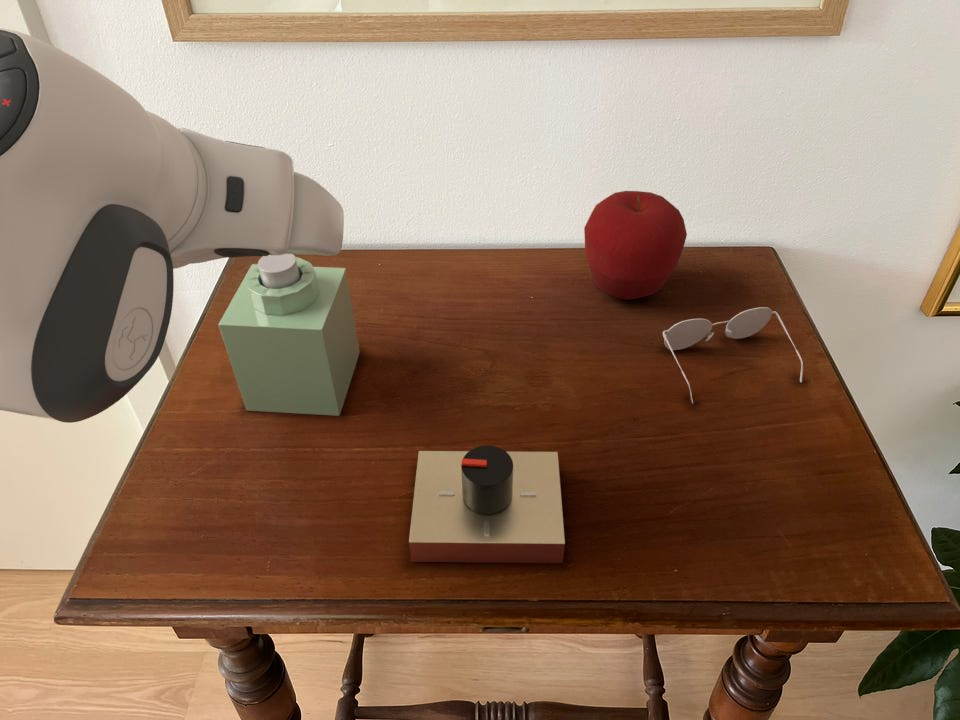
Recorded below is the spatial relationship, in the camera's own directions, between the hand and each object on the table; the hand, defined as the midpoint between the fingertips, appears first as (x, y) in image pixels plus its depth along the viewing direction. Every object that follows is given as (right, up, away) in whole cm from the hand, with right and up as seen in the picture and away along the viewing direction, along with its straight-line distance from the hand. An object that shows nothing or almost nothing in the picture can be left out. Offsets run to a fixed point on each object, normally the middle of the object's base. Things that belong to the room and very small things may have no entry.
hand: (241, 241), depth 60 cm
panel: (+20, -24, +6) cm, 32 cm away
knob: (+20, -22, +4) cm, 30 cm away
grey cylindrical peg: (0, -2, +11) cm, 11 cm away
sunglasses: (+47, -11, +21) cm, 53 cm away
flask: (+1, -12, +20) cm, 23 cm away
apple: (+38, -1, +31) cm, 49 cm away
